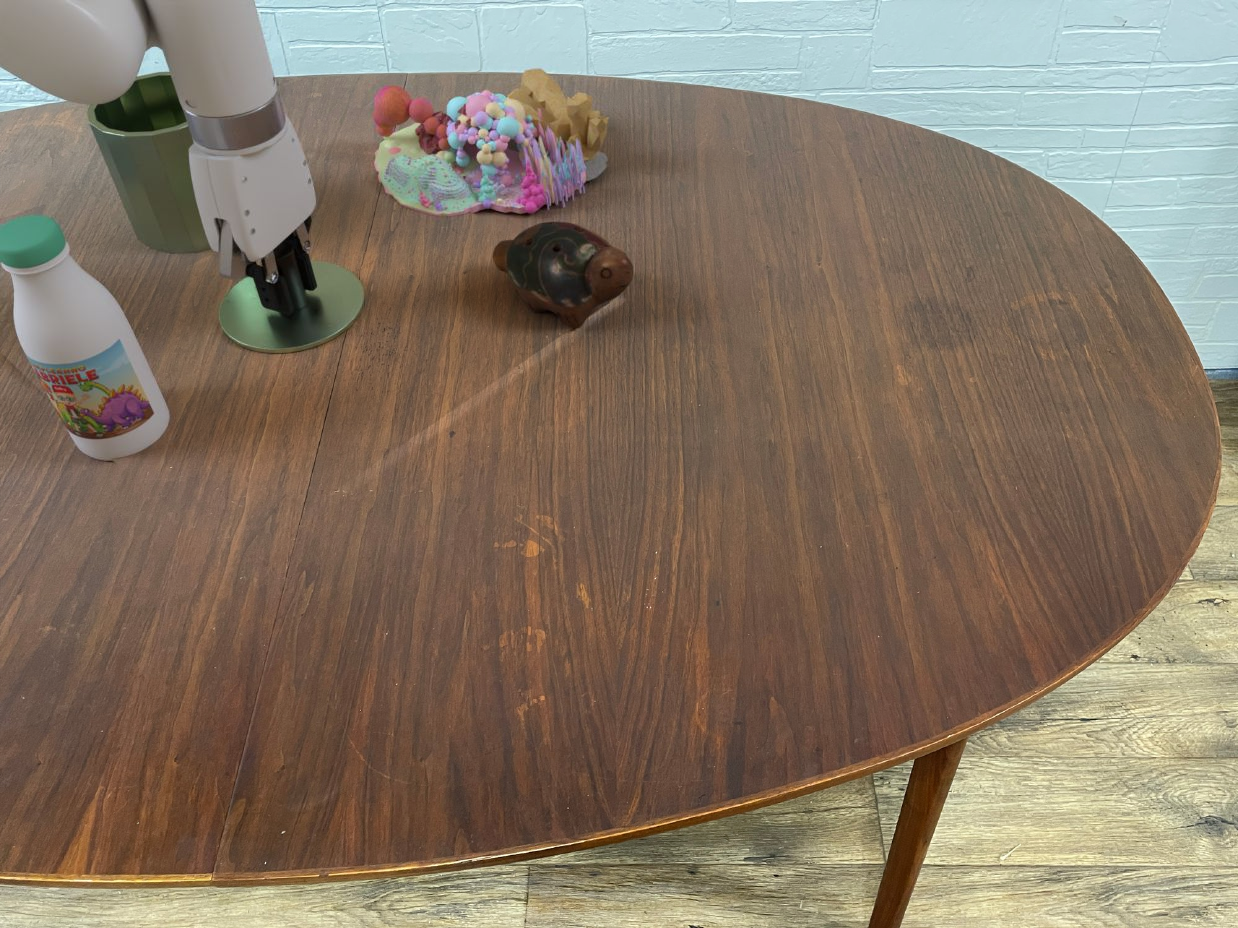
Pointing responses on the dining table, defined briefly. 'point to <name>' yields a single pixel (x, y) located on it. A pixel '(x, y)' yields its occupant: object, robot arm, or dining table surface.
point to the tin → (151, 163)
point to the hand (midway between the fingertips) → (290, 296)
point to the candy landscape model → (489, 148)
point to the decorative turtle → (563, 269)
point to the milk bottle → (80, 344)
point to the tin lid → (313, 310)
